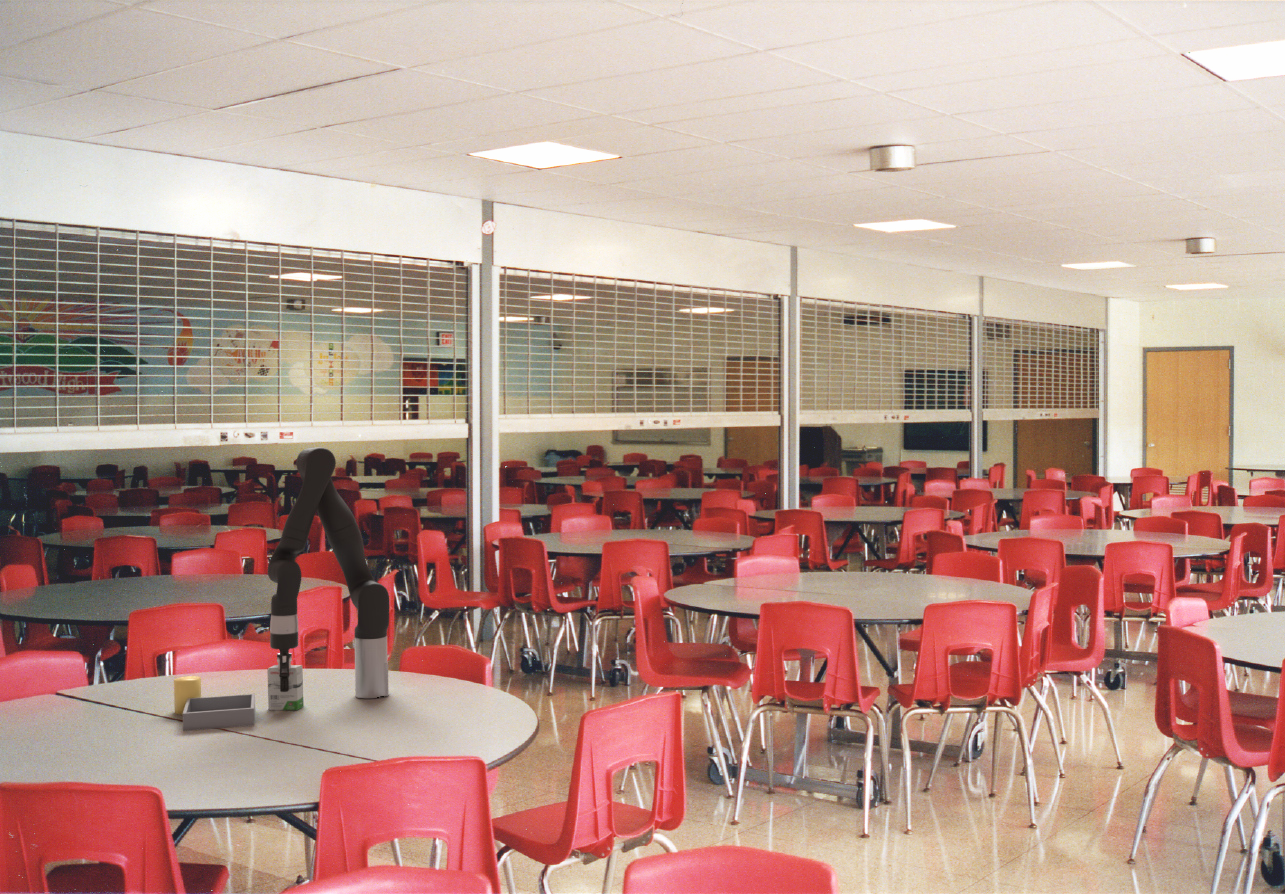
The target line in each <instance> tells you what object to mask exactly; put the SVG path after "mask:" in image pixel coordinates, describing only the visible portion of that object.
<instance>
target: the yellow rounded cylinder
mask: <svg viewBox="0 0 1285 894" xmlns="http://www.w3.org/2000/svg"><path fill="white" fill-rule="evenodd" d="M173 696H174V697H173V698H174V699H173V701H174V702H173V703H174V709H173V710H174V714H176V715H183V711H184V708H185V705H186V702H187V698H200V697H202V678H201V677H200V676H195V675H193V676H190V675H188V676H181V677H177V678H175V679H173Z"/></svg>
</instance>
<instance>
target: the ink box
mask: <svg viewBox="0 0 1285 894" xmlns="http://www.w3.org/2000/svg"><path fill="white" fill-rule="evenodd" d="M266 673H267V698H268V700H267V702H268V703H267V704H268V705H267V707H268V710H269V711H298V710H301V709H302V708H303V707H304V706H305V705H304V678H303V675H304V672H303V664H300V665H299V664H297V665H296V664H295V665H293V664H291V670H290V671H289V674H290V677H289V690H288V692H281V691H280V677H279V674H280V672H279V671H278V664H275V665H272V666H270V667H268V668H267V672H266ZM282 673H287V671H282Z"/></svg>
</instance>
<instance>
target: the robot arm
mask: <svg viewBox="0 0 1285 894" xmlns="http://www.w3.org/2000/svg"><path fill="white" fill-rule="evenodd" d="M295 463H296V469H297V470H296V471H297V472H298V474H299V476H300V478H301V480H302V486H301V489H300V491H299V494H298V496H297V499H296V501H295V502H294V504H293V506H292V508H291V510H290V512H289V514H288V515H287V518H286V521H285V522H284V526H283V529H282V533H281V536H280V540H279V543H278V545H277V546H276V548H275V550H274V551H273V554H272V555H271V557H270V560H269V562H268V564H267V565H268V566H267V576H268V578H269V579H270V581H272V582H273V583H275V584H277V587H276V593H275V594H273V595H272V596H271V601H270V602H271V603H270V615H271V616H270V624H269V625H270V626H269V627H270V628H269V629H270V630H269V631H270V632H269V636H270V637H269V641H270V643H269V647H270V648H271V649H273V650H279V653H277V654H276V662H277V665H278V671H279V672H280V674H279V677H280V691H281V692H288V690H289V677H290V674H289V671H290V670H291V665H292V663H291V662H292V661H293V660H292V658H293V657H292V655H293V654H292V652H290V649H291V650H292V649H296V648H298V646H299V618H298V597H299V592H300V588H301V584H302V570H301V569H302V568H301V567H300V565H299V563H298V562H296V561H295V560H296V558H297V556H298V554H300V553H301V552H303V551H304V550H305V549H306V545H307V542H308V539H309V535H310V531H311V528H312V525H313V521H314V518H315V515H316V512H317V515H318V518H319V520H320V522H321V525H322V527H323V530H324V533H325V536H326V537H327V540H328V543H329V545H330V547H331V550H332V552H333V554H334V555H335V558H336V561H337V562H338V564H339V567H340V568H341V570H342V574H343V575H344V579H345V582H346V586H347V589H348V593H349V597H350V600H351V602H352V605H353V606H354V608H355V609H357V625H356V626H355V628H354V677H355V680H354V681H355V682H354V683H355V684H354V686H355V687H354V690H355V693H354V696H355V698H359V699H378V698H377V697H379V698H381V697H380V696H384V697H388V695H389V693H390V691H389V662H388V629H389V626H390V625H389V624H390V595H389V591H388V589H387V588H386V587H385V586H384V585H383V584H382V583H379V582H377V581H376V580H375V578H374V576H373V574H372V572H371V570H370V568H369V565H368V564H367V560H366V556H365V547H364V540H363V536H362V533H361V530H360V527H359V525H358V523H357V520H356V517H355V515H354V514H353V512H352V511H351V508H350V507H349V506H348V504H347V503H346V502H345V500H344V499H343V497H342V496H341V495H340V494H339V492H338V491H337V489H336V487H335V485H334V482H333V479H332V475H333V473H334V472H335V469H336V464H337V462H336V457H335V455H334V453H333V452H332V451H331V450H330V449H328V448H325V447H322V446H321V447H320V446H317V447H307V448H304V449H303V450H301V451H300V452H299V453H298V455H297V458H296V461H295ZM282 671H287V673H282Z"/></svg>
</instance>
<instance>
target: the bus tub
mask: <svg viewBox="0 0 1285 894" xmlns="http://www.w3.org/2000/svg"><path fill="white" fill-rule="evenodd" d="M255 717H256V694H255V693H245V694H231V695H217V696H201V697H200V698H187V702H186V705H185V708H184V711H183V714H182V731H183V732H184V731H185V732H187V731H197V730H211V729H223V728H236V727H249V726H251V727H252V726H255Z"/></svg>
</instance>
